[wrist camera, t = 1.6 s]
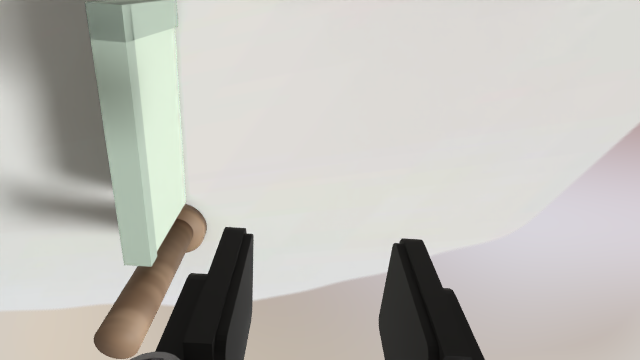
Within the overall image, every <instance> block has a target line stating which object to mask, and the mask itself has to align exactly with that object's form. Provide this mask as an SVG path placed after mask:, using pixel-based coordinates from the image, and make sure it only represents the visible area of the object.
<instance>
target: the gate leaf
mask: <svg viewBox="0 0 640 360" xmlns="http://www.w3.org/2000/svg"><path fill="white" fill-rule="evenodd" d="M85 7H86V13H87V20H88V27H89V33H90V40H91V47H92V53H93V60H94V67H95V73H96V80H97V87H98V93H99V100H100V107H101V114H102V120H103V127H104V134H105V140H106V147H107V154H108V160H109V167H110V174H111V180H112V187H113V194H114V200H115V207H116V214H117V220H118V227H119V234H120V240H121V247H122V254H123V260H124V265H132V266H148V267H152V265H153V263H154V262H155V260H156V258H157V251H158V249H159V247H160V246H161V244H162V242H163V240H164V239H165V237H166V235H167V234H168V232H169V230H170V229H171V227H172V225H173V223H174V222H175V220H176V218H177V217H178V215H179V213H180V212H181V210H182V208H183V206H184V205H185V203H186V192H185V177H184V161H183V145H182V130H181V114H180V99H179V83H178V67H177V52H176V36H175V27H178V18H177V1H176V0H102V1H88V2H85Z"/></svg>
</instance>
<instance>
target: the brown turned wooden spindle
mask: <svg viewBox="0 0 640 360" xmlns="http://www.w3.org/2000/svg"><path fill="white" fill-rule="evenodd" d="M206 230H207V225H206V221H205V219H204V217H203V215H202V214H201V213H200V212H199V211H198V210H197V209H195V208H193V207H191V206H189V205H186V204H185V205H184V206H183V208H182V210H181V212H180V213H179V215H178V217H177V218H176V220H175V222H174V223H173V225H172V227H171V229H170V230H169V232H168V234H167V235H166V237H165V239H164V240H163V242H162V244H161V246H160V247H159V249H158V251H157V258H156V260H155V262H154V263H153V265H152V267H148V266H138V267H137V268H136V270H135V271H134V273H133V275H132V276H131V278H130V279H129V281H128V283H127V284H126V286H125V287H124V289H123V291H122V292H121V294H120V295H119V297H118V299H117V300H116V302H115V303H114V305H113V307H112V308H111V310H110V312H109V313H108V315H107V316H106V318H105V320H104V321H103V323H102V324H101V326H100V327H99V329H98V331H97V332H96V334H95V336H94V343H95V346H96V347H97V349H98V350H99V351H100V352H101V353H103V354H105V355H106V356H109V357H112V358H116V359H126V358H129V357H132V356H134V355H135V354H136V353H137V352H138V350H139V348H140V346H141V344H142V342H143V340H144V338H145V336H146V334H147V331H148V329H149V327H150V325H151V323H152V321H153V319H154V317H155V315H156V313H157V311H158V309H159V307H160V304H161V302H162V300H163V298H164V296H165V294H166V292H167V290H168V288H169V286H170V284H171V282H172V279H173V277H174V275H175V273H176V271H177V269H178V267H179V265H180V263H181V261H182V259H183V257H184V254H185V253H187V252H190V251H193V250H195V249H196V248H198V247H199V246H200V244H201V243H202V241H203V238H204V236H205V234H206Z"/></svg>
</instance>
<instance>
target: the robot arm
mask: <svg viewBox="0 0 640 360" xmlns="http://www.w3.org/2000/svg"><path fill="white" fill-rule="evenodd" d="M252 288H253V234H246V228H233V227H225V229H224V232H223V234H222V237H221V240H220V242H219V245H218V248H217V251H216V253H215V256H214V259H213V261H212V264H211V267H210V270H209V272H208V274H196V273H191V274H189V276H188V278H187V279H186V282H185V284H184V286H183V289H182V291H181V293H180V296H179V298H178V300H177V303H176V305H175V307H174V310H173V312H172V314H171V316H170V319H169V321H168V323H167V326H166V328H165V330H164V333H163V335H162V337H161V339H160V342H159V344H158V346H157V349H156V351H155V352H151V353H145V354H142V355H139V356H137V357H135V358H132V359H130V360H244V355H245V350H246V345H247V339H248V334H249V328H250V323H251V316H252ZM379 331H380V336H381V341H382V347H383V352H384V357H385V360H485V359H484V357H483V355H482V353H481V351H480V348H479V346H478V344H477V342H476V339H475V338H474V336H473V333H472V331H471V328H470V326H469V324H468V322H467V320H466V317H465V315H464V313H463V311H462V309H461V306H460V304H459V302H458V300H457V297H456V295H455V294H454V292H453V290H451V289H448V288H443V287H442V285H441V282H440V280H439V278H438V275H437V273H436V271H435V268H434V266H433V263H432V261H431V259H430V256H429V254H428V252H427V249H426V247H425V245H424V242H423V241H422V240H418V239H401V240H400V243H394V244H393V247H392V252H391V257H390V263H389V268H388V273H387V278H386V283H385V288H384V293H383V299H382V304H381V309H380V314H379Z"/></svg>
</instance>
